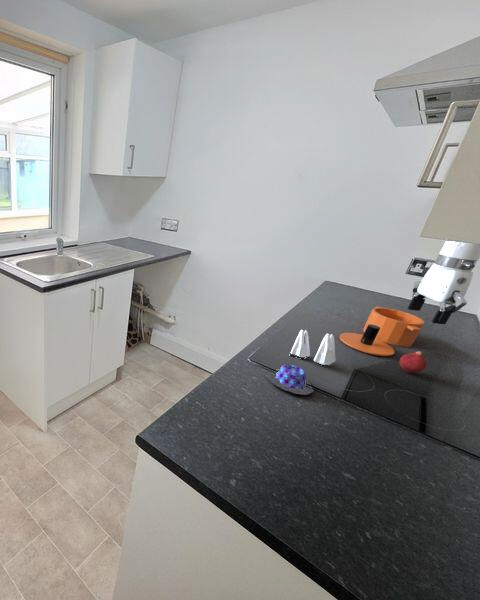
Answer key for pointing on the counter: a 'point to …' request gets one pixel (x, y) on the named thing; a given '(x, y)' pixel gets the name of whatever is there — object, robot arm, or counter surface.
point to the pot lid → (367, 342)
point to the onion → (413, 362)
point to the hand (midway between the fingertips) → (425, 316)
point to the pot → (395, 326)
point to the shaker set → (324, 352)
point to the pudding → (291, 376)
